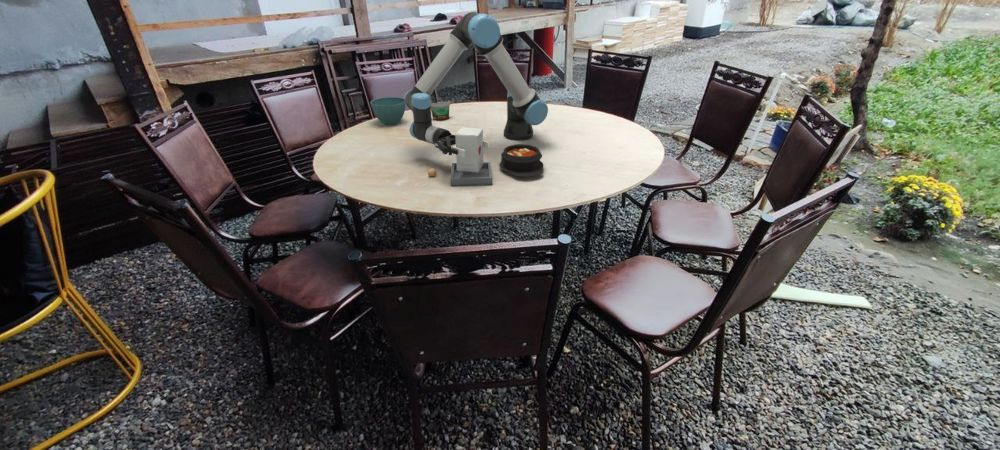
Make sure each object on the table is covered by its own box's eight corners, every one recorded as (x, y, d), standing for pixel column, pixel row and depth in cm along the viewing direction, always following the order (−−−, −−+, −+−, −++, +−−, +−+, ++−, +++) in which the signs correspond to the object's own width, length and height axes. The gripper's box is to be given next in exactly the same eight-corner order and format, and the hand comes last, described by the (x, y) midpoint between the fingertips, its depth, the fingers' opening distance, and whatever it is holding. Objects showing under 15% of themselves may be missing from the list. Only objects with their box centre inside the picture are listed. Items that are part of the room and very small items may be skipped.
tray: (490, 168, 177) (490, 162, 176) (492, 185, 164) (492, 177, 162) (452, 169, 176) (452, 163, 175) (450, 186, 163) (450, 179, 161)
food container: (434, 122, 232) (432, 104, 227) (430, 119, 237) (428, 101, 232) (454, 119, 237) (453, 101, 232) (450, 116, 242) (449, 99, 236)
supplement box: (478, 173, 163) (477, 135, 155) (456, 171, 165) (454, 134, 157) (484, 164, 171) (483, 128, 163) (462, 162, 172) (461, 126, 165)
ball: (436, 174, 172) (435, 167, 171) (435, 177, 170) (435, 170, 168) (428, 174, 172) (427, 167, 170) (427, 177, 169) (427, 170, 168)
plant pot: (367, 126, 226) (363, 103, 220) (386, 117, 241) (383, 95, 235) (396, 130, 221) (393, 106, 215) (413, 120, 236) (411, 98, 229)
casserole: (553, 178, 169) (554, 158, 165) (509, 183, 165) (509, 164, 160) (531, 156, 190) (532, 138, 185) (492, 160, 185) (491, 142, 181)
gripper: (460, 138, 183) (497, 150, 171) (416, 153, 168) (454, 167, 155) (459, 121, 179) (497, 132, 167) (415, 135, 164) (453, 148, 152)
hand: (476, 149), depth 161 cm, fingers closed on supplement box, 12 cm apart
